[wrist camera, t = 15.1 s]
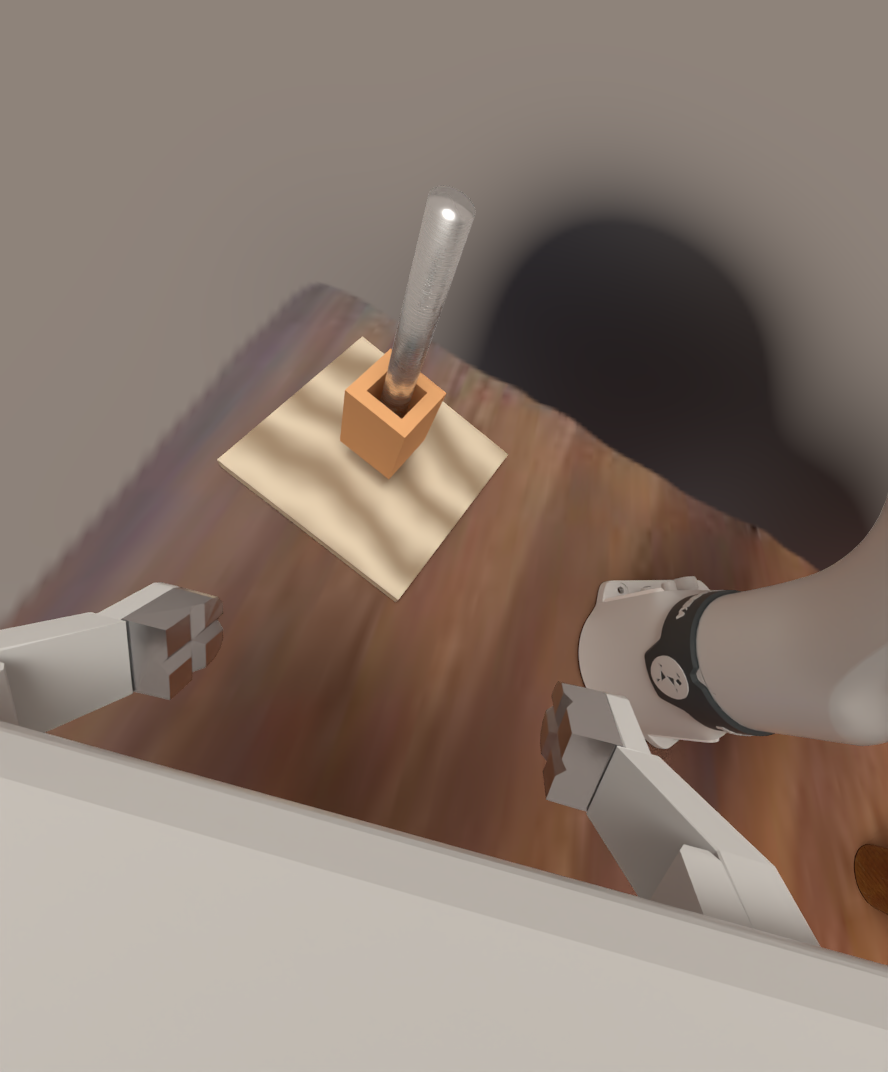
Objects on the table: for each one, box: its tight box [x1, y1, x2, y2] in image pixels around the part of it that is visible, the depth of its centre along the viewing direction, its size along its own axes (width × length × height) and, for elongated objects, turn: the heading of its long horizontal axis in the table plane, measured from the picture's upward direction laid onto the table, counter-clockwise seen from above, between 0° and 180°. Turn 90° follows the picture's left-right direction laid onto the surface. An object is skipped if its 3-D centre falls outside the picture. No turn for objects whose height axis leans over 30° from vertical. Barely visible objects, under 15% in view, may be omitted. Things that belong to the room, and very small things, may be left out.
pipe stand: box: [217, 337, 508, 602], centre depth 45 cm, size 22×22×2 cm
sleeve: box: [340, 349, 446, 479], centre depth 37 cm, size 6×6×8 cm
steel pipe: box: [380, 186, 475, 419], centre depth 32 cm, size 3×3×26 cm
